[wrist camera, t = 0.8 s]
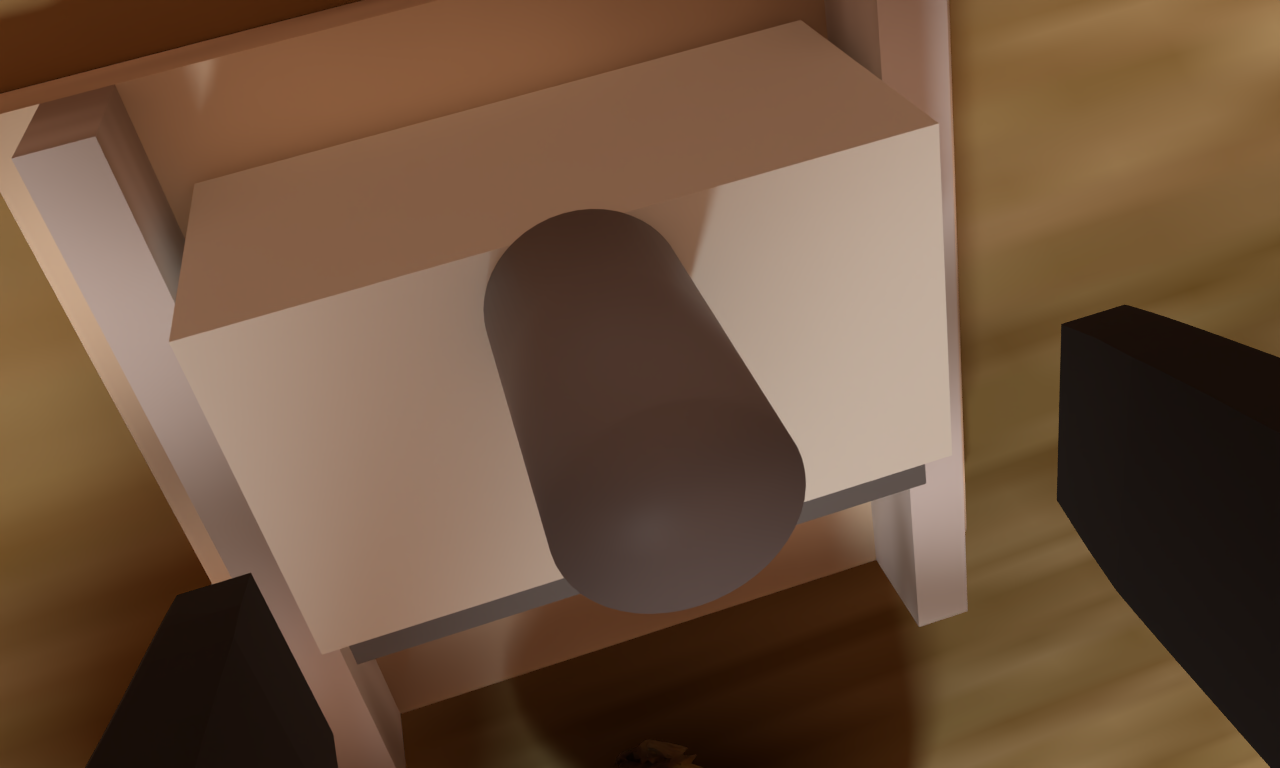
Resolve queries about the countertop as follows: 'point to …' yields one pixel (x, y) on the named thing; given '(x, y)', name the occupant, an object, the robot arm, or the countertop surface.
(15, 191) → the press board
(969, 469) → the countertop surface
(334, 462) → the block
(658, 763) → the potato
